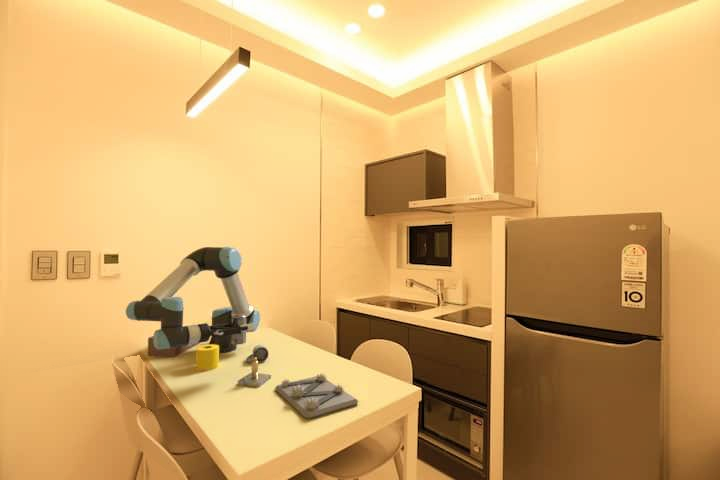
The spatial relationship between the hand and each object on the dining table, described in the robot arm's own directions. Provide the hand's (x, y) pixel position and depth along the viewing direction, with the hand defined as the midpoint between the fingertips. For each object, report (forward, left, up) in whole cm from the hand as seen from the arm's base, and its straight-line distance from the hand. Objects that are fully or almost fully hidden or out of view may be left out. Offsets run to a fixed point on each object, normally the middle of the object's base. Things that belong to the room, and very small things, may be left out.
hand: (249, 325), depth 155 cm
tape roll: (-1, -23, -22) cm, 32 cm away
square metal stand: (+9, +8, -22) cm, 25 cm away
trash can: (+4, -3, -7) cm, 9 cm away
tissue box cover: (-21, -59, -22) cm, 66 cm away
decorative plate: (+16, +38, -22) cm, 47 cm away
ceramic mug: (-16, -5, -22) cm, 28 cm away
